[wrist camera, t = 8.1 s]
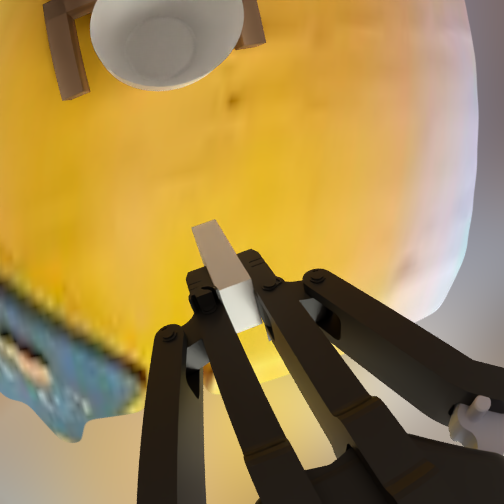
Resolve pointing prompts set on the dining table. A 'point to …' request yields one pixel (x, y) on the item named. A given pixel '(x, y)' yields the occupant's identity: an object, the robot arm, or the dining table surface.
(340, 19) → the dining table surface
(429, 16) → the dining table surface
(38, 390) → the dining table surface
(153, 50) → the cup
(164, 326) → the robot arm
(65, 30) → the walnut pocket
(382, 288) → the dining table surface
